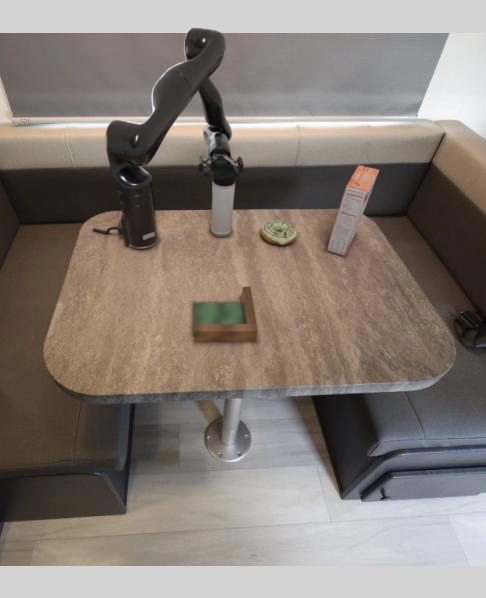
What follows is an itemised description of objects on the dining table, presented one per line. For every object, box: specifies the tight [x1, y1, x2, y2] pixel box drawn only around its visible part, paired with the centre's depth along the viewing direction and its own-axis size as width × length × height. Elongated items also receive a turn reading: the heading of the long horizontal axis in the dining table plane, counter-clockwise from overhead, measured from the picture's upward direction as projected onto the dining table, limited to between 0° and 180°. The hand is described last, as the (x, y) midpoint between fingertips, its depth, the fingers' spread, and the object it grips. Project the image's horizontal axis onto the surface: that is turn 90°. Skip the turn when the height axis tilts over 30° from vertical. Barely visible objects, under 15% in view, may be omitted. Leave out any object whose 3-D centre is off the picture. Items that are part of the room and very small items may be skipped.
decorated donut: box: [260, 219, 298, 247], centre depth 106 cm, size 10×11×4 cm
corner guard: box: [192, 286, 258, 343], centre depth 82 cm, size 14×14×4 cm
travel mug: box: [210, 164, 237, 238], centre depth 102 cm, size 6×7×20 cm
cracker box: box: [325, 165, 380, 257], centre depth 99 cm, size 14×6×21 cm, turn 150°
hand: (221, 175), depth 107 cm, fingers open, 8 cm apart
